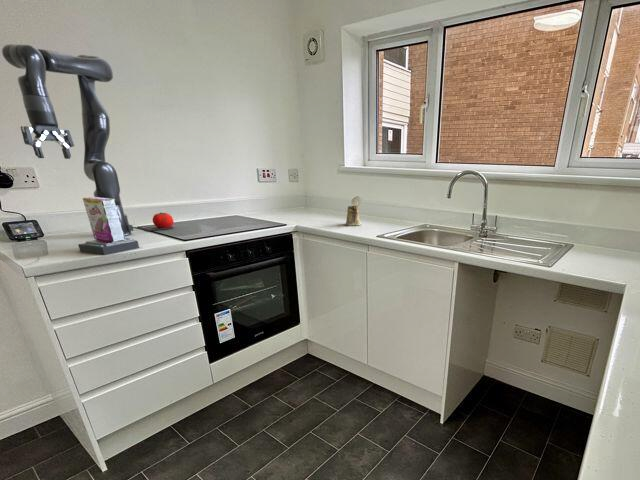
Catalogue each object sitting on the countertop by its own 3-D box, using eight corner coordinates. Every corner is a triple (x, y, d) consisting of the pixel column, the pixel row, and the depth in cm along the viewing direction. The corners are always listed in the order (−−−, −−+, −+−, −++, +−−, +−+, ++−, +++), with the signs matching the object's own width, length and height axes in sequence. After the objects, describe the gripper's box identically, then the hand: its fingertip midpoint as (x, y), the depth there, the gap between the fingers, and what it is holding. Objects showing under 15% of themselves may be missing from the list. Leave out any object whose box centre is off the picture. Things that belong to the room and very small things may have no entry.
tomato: (163, 226, 192) (159, 210, 189) (180, 227, 191) (177, 211, 188) (149, 229, 184) (145, 213, 180) (167, 230, 182) (163, 214, 179)
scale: (116, 244, 150) (114, 237, 149) (139, 247, 147) (137, 239, 146) (80, 251, 138) (77, 243, 136) (104, 255, 134) (102, 246, 133)
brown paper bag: (350, 227, 209) (350, 196, 202) (343, 224, 220) (343, 194, 213) (364, 226, 212) (364, 196, 206) (357, 223, 224) (356, 194, 217)
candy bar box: (93, 239, 141) (81, 197, 135) (106, 237, 145) (95, 196, 139) (113, 242, 138) (101, 199, 132) (126, 240, 142) (115, 198, 136)
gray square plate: (114, 238, 148) (114, 236, 148) (134, 240, 145) (133, 238, 145) (86, 243, 138) (85, 241, 138) (106, 246, 135) (106, 243, 135)
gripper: (22, 107, 120) (38, 158, 125) (69, 113, 132) (82, 159, 138) (8, 107, 121) (24, 157, 127) (56, 113, 134) (69, 158, 140)
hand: (54, 158), depth 133 cm, fingers open, 8 cm apart
